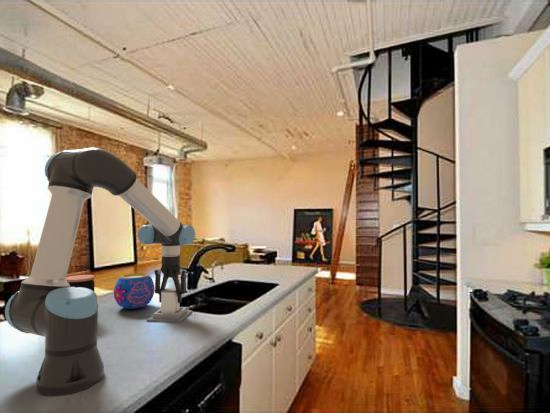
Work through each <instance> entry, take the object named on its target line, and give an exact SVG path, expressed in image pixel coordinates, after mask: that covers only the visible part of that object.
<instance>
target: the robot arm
mask: <svg viewBox="0 0 550 413" xmlns="http://www.w3.org/2000/svg"><path fill="white" fill-rule="evenodd" d="M44 174H45V177H46V178H47V182H48V184H47V189H48V191H49V192H50V193H51V199H50V200H49V206H48V209H47V213H46V216H45V220H44V223H43V228H42V230H41V231H42V232H41V235H40V238H39V242H38V246H37V249H36V252H35V257H34V261H33V265H32V268H31V271H30V272H31V273H30V275H29V277H27V278H26V279H23V280H22V281H21V284H20V287H19V290H18V291H16V292H15V293H14V294H13V295H11V297H10V298H9V299H8V301H7V303H6V305H5V308H4V314H5V315H4V316H5V319H6V322H7V323H8V324H9V325H10V326H11V328H12V329H16V330H17V331H18V332H21V333H25V334H32V335H35V336H38V337H39V336H40V337H44V339H45V341H44V349H45V350H44V358H43V360H42V363H41V365H40V368H39V371H38V374H37V377H36V380H35V390H36V392H37V393H39V394H40V395H44V396H52V397H53V396H64V395H68V394H73V393H77V392H80V391H83V390H85V389H88V388H90V387H92V386H93V385H95V384H97V383H98V382H99V381H100V380H102V379H103V377H104V375H105V366H104V362H103V359H102V357H101V354H100V351H99V349H98V316H99V315H98V314H99V302H98V296H97V293H96V292H95V290H94V291H93V290H90V289H87V288H82V287H78V288H75V287H70V285H69V283H68V282H67V281H66V277H67V274H68V270H69V267H70V264H71V258H72V254H73V251H74V250H73V249H74V246H75V241H76V237H77V234H78V229H79V225H80V221H81V216H82V213H83V208H84V204H85V201H87V200H88V199H91V198H92V194H93V191H94V188H97V187H98V188H102V189H103V190H106V191H108V192H109V193H110V194H111V195H112V196H115V197H118V196H119V197H120V198H121V199H122V200H123V201H124V202H125V203H127V204H128V205H129V206H130V207H131V208H133V210H135V211H136V212H137V213H138V214H139V215H141V217H143V218H144V219H145V220H146V221H147V222H149V223H150V224H144V225H142V226H140V227H139V229H138V231H137V239H138V241H139V242H140V243H141V244H143V245H152V244H153V245H155V244H157V245H161V255H162V256H161V267H160V268H158V269H154V275H155V277H154V278H155V283H154V288H155V290H154V294H157V295H159V296H158V297H159V298H158V301H159V303H161V291H162V290H164V289H166V288H167V287H166V286H167V283H168V279H169V278H171V279H172V281H173V284H174V288H176V292H177V295H176V296H175V311H178V310H179V307H181V306H180V305H181V304H180V303H182V298H183V297H182V295H185V293H187V271H188V269H182V268H181V256H180V254H181V246H189V245H192V243H193V242H194V240H195V239H196V230H195V228H194V227H193V226H191V224H190V225H188V224H183V223H182V222H181V221H180V220H179V219H178V218H177V217H176V216H175V215H173V213H172V212H171V211H170V210H169V209H167V207H166V206H165V205H164V204H163V203H162V202H161V201H160V200H159V199H158V198H157V197H155V195H154V194H153V193H152V192H150V190H149V188H147V187H145V185H144V184H142V182H141V181H139V179H138V174H137V173H136V172H135V171H134V169H132V168H131V167H130V166H129V165H128V164H127V163H126V162H124V160H122V159H121V158H119V157H117V156H116V155H115V154H113V153H111V152H109V151H108V150H105V149H102V148H99V147H88V148H81V149H67V150H62V151H59V152H56V153H54V154H53V155H51V156H50V157H49V159H48V160H47V162H46V163H45V165H44ZM179 273H180V279H179ZM162 275H163V277H162V279H161V276H162ZM161 280H162V281H161Z"/></svg>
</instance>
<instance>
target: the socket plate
mask: <svg viewBox="0 0 550 413" xmlns="http://www.w3.org/2000/svg"><path fill="white" fill-rule="evenodd" d="M192 313H193V310H191V309H190V310H189V309H188V307H186V306H179V310H178V311H176V312H175V313H161V308H159V309H158V310H156V311H155V312H154V313H152V315H151V316H150V317H148V318H146V322H154V323H155V322H156V323H178V324H179V323H181V322H182V321H183V320H185V319H186V318H187V317H188V316H190V314H192Z"/></svg>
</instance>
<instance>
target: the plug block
mask: <svg viewBox="0 0 550 413" xmlns="http://www.w3.org/2000/svg"><path fill="white" fill-rule="evenodd" d="M176 295H177V292H176V288H175V287H165V289H164V290H162V291H161V302H160V303H161V304H160V309H161V313H175V312H176V311H175V296H176Z"/></svg>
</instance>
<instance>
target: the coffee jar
mask: <svg viewBox="0 0 550 413" xmlns="http://www.w3.org/2000/svg"><path fill="white" fill-rule="evenodd" d="M94 279H95V275H94V274H78V275H70V276H66V281H67V282H68V283H69V285H70V287H75V288H78V287H82V288H87V289H90V290H93V291H94V292H95V281H94Z"/></svg>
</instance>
